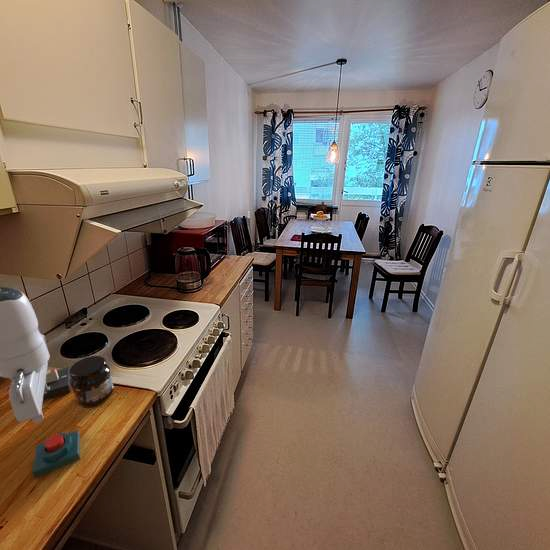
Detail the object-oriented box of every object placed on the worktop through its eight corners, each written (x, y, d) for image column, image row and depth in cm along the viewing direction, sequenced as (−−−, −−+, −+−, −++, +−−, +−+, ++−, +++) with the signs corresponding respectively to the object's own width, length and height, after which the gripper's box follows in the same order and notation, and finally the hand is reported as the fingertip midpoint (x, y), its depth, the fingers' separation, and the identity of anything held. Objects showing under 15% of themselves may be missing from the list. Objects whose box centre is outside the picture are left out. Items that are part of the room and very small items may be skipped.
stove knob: (40, 385, 91) (37, 376, 90) (41, 382, 92) (37, 373, 91) (58, 379, 93) (55, 370, 92) (58, 377, 95) (55, 367, 93)
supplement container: (81, 387, 94) (72, 358, 90) (116, 380, 98) (109, 351, 93) (72, 412, 85) (62, 381, 81) (112, 403, 89) (104, 372, 84)
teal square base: (35, 478, 68) (30, 467, 66) (38, 451, 74) (34, 440, 72) (80, 459, 72) (76, 448, 71) (80, 435, 78) (76, 424, 77)
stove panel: (31, 404, 88) (28, 397, 86) (35, 384, 95) (32, 377, 94) (70, 392, 93) (67, 384, 91) (70, 373, 100) (68, 366, 99)
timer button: (45, 454, 69) (43, 449, 69) (47, 443, 72) (45, 438, 71) (63, 447, 71) (62, 442, 71) (64, 436, 74) (62, 431, 73)
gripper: (35, 381, 55) (55, 432, 61) (44, 331, 71) (59, 375, 77) (-8, 394, 52) (17, 447, 57) (11, 339, 68) (30, 384, 73)
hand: (41, 405), depth 67 cm, fingers open, 8 cm apart
